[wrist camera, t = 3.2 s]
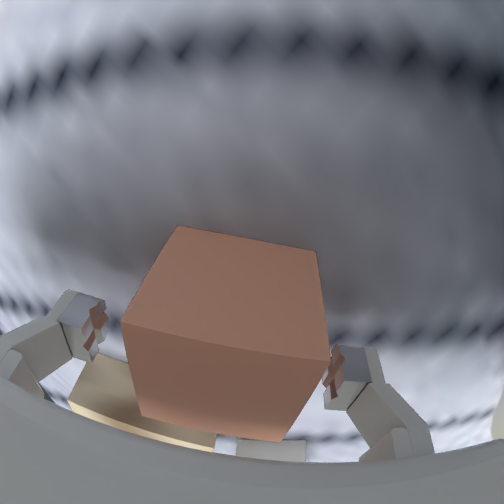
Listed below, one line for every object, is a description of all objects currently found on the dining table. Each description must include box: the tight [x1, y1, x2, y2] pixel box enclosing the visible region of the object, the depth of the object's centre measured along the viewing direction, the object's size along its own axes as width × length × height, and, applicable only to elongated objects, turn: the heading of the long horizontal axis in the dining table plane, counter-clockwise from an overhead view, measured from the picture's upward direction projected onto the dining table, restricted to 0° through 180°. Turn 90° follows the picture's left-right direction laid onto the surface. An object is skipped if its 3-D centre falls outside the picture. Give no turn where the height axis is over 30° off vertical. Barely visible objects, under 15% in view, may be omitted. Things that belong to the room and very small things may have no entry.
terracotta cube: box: [120, 225, 331, 442], centre depth 10 cm, size 5×5×5 cm
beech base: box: [68, 353, 217, 452], centre depth 16 cm, size 8×8×4 cm
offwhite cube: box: [236, 439, 306, 462], centre depth 19 cm, size 5×5×5 cm
